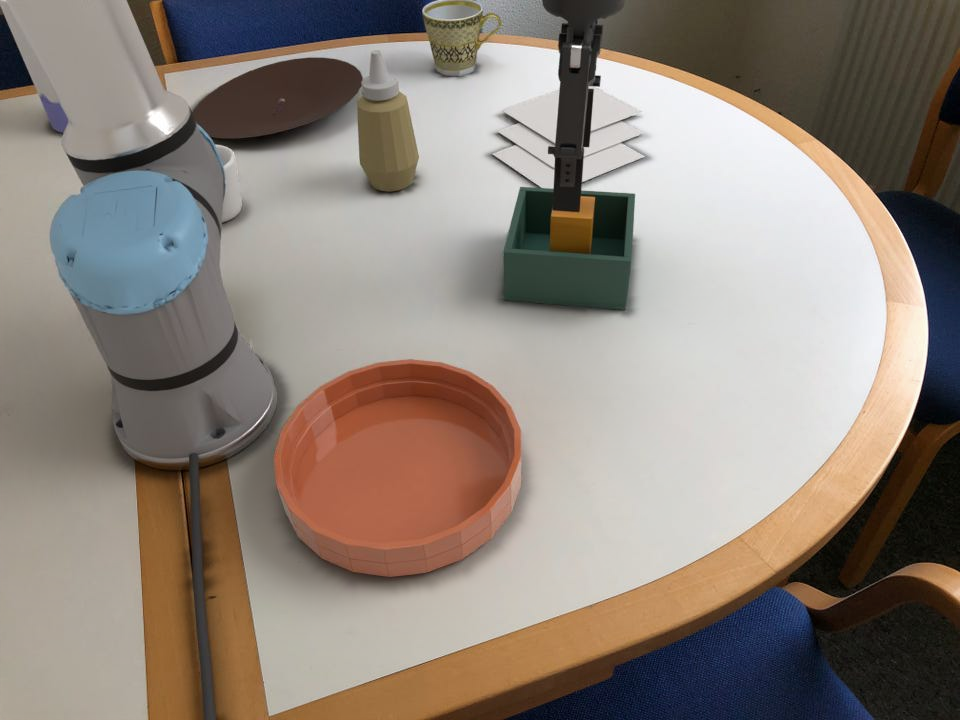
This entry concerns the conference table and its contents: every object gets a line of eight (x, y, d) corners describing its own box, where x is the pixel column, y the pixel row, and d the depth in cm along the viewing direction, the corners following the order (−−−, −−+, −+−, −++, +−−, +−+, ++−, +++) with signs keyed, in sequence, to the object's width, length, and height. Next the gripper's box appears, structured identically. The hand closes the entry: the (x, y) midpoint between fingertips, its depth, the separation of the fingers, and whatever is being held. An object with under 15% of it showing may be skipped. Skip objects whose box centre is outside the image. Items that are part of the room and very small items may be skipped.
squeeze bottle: (395, 161, 114) (380, 34, 101) (433, 180, 109) (422, 50, 97) (351, 182, 110) (329, 53, 97) (388, 204, 105) (370, 71, 93)
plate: (217, 73, 138) (212, 52, 136) (376, 71, 137) (374, 49, 134) (164, 152, 118) (157, 129, 115) (351, 150, 116) (347, 127, 114)
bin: (625, 310, 88) (631, 261, 83) (503, 300, 90) (503, 252, 85) (630, 240, 97) (635, 193, 93) (520, 232, 99) (520, 186, 95)
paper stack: (687, 139, 115) (688, 134, 115) (551, 194, 105) (551, 190, 105) (583, 85, 129) (584, 80, 129) (455, 129, 120) (455, 125, 119)
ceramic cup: (421, 79, 134) (416, 19, 127) (433, 56, 141) (429, -3, 134) (497, 82, 132) (496, 21, 125) (505, 58, 139) (505, -1, 132)
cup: (224, 245, 99) (207, 189, 94) (166, 240, 101) (146, 184, 95) (258, 200, 107) (244, 145, 102) (204, 195, 108) (187, 141, 103)
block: (588, 278, 91) (592, 218, 86) (548, 275, 92) (550, 216, 86) (590, 255, 94) (595, 196, 89) (553, 252, 95) (555, 194, 89)
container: (131, 114, 128) (85, -17, 114) (79, 140, 122) (23, 5, 108) (91, 101, 132) (42, -27, 118) (39, 125, 126) (-19, -7, 112)
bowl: (502, 596, 62) (502, 565, 59) (247, 561, 66) (233, 529, 62) (535, 404, 78) (536, 370, 74) (326, 382, 81) (318, 350, 78)
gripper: (622, 14, 61) (600, 244, 75) (632, -76, 79) (613, 124, 93) (525, 10, 62) (521, 238, 76) (557, -78, 80) (549, 120, 94)
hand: (572, 175), depth 85 cm, fingers open, 13 cm apart
